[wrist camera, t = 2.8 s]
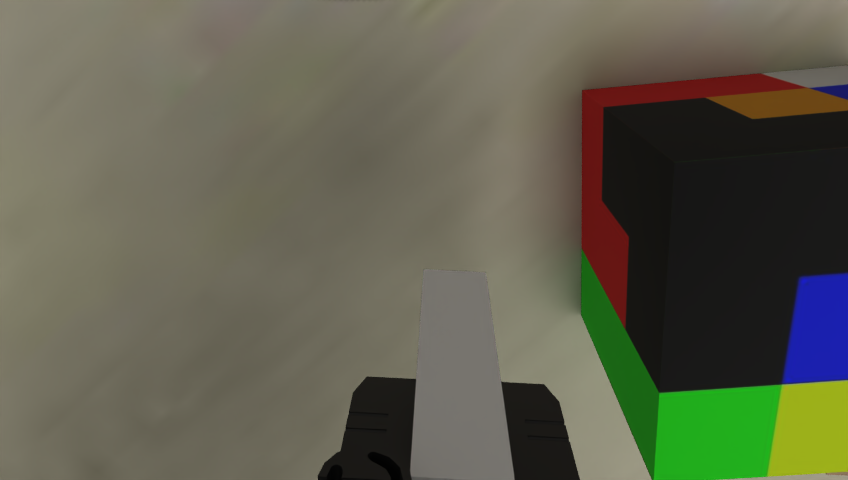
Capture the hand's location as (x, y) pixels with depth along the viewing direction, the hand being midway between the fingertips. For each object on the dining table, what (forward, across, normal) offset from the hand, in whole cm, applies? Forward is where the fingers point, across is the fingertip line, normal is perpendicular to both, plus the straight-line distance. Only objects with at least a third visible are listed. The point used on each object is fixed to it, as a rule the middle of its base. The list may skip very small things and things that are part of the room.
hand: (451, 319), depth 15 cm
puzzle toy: (+11, -11, 0) cm, 16 cm away
